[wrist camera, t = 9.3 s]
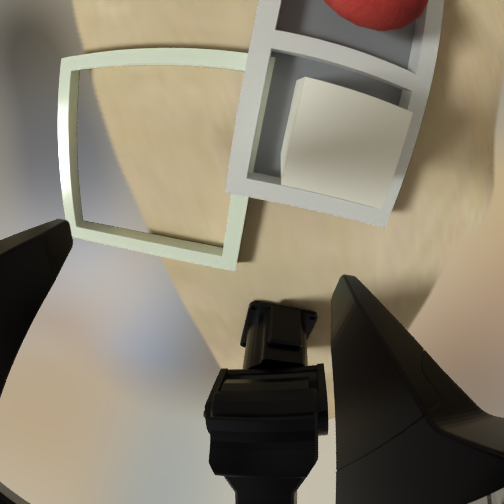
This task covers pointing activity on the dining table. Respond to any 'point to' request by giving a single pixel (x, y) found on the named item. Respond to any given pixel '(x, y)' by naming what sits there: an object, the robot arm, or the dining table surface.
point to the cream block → (342, 142)
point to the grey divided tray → (332, 71)
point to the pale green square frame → (69, 159)
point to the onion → (379, 12)
